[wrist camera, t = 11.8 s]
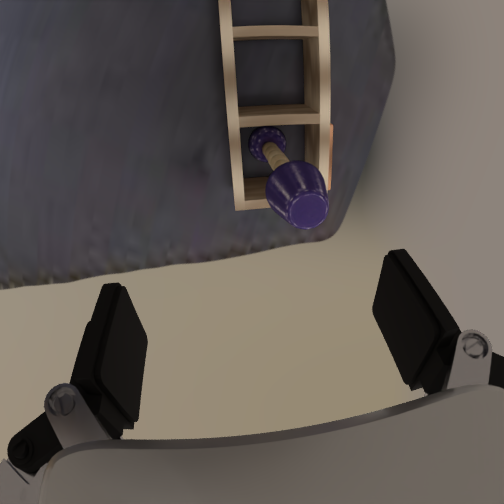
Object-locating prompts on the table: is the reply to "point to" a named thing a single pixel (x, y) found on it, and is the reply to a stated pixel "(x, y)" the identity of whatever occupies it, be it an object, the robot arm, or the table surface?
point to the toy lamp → (290, 181)
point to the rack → (311, 113)
